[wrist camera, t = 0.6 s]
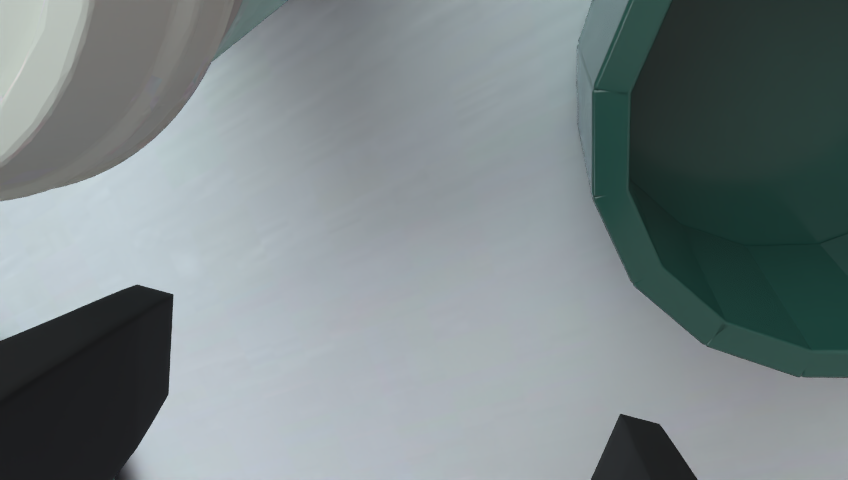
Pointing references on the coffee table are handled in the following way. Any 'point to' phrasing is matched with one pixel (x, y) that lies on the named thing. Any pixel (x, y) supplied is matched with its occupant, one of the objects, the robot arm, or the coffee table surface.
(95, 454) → the robot arm
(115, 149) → the coffee cup
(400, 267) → the coffee table surface
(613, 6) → the pot
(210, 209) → the coffee table surface
